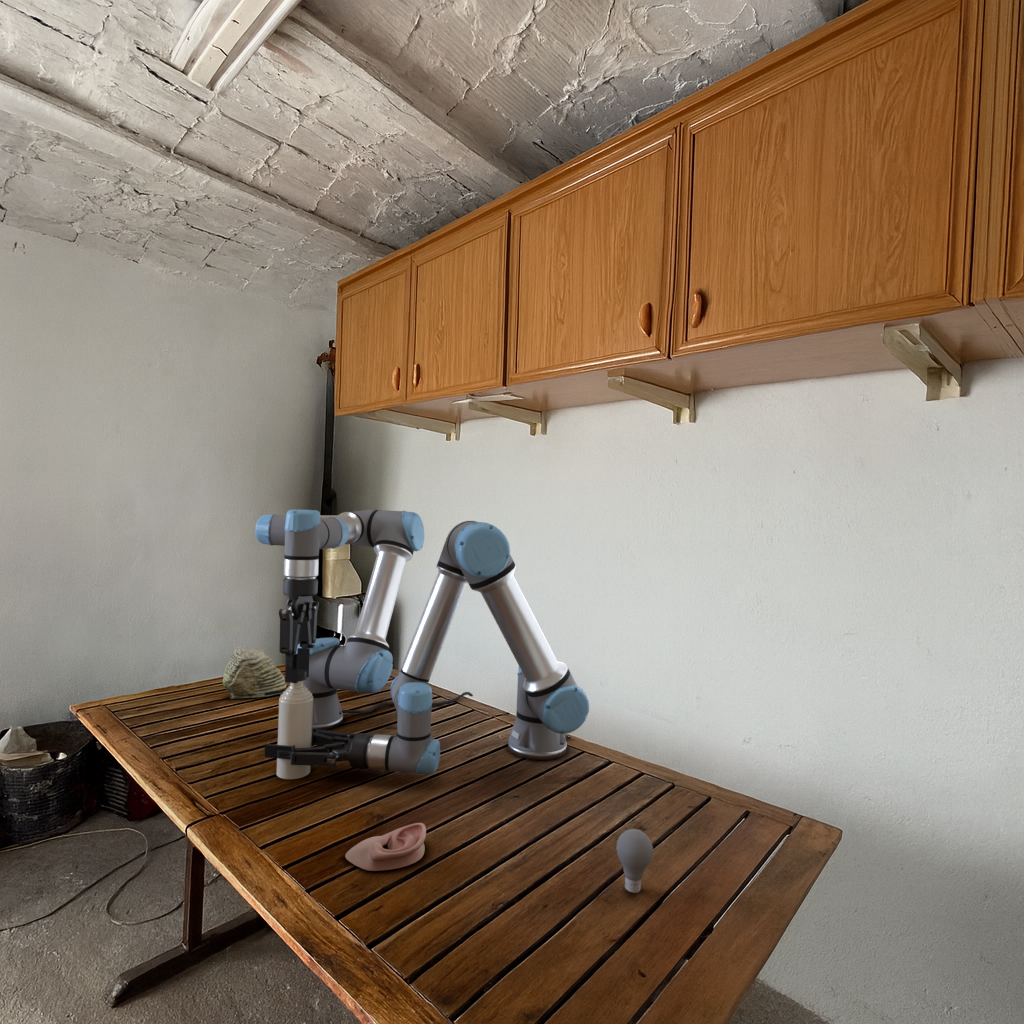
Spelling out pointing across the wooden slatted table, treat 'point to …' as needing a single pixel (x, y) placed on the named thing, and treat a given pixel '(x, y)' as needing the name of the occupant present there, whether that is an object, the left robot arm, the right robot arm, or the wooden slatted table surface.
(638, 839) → the light bulb
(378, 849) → the anatomical model
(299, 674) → the cap
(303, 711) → the bottle
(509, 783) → the wooden slatted table surface
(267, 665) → the fossil
